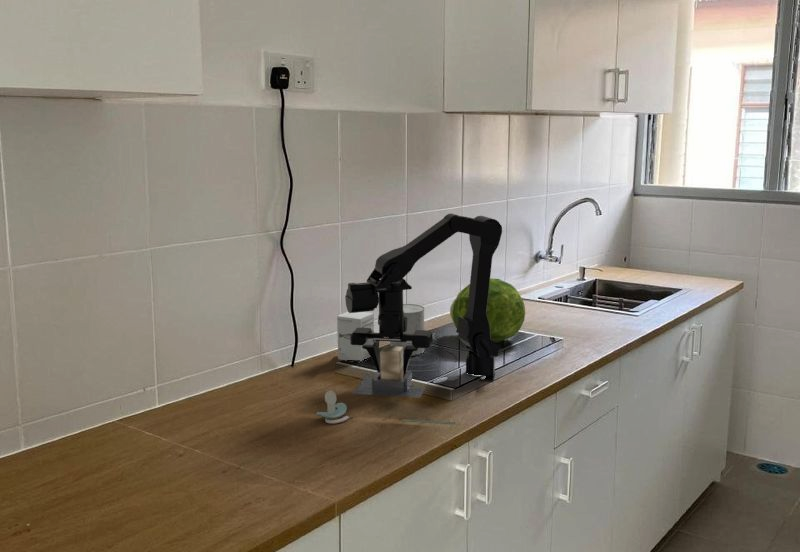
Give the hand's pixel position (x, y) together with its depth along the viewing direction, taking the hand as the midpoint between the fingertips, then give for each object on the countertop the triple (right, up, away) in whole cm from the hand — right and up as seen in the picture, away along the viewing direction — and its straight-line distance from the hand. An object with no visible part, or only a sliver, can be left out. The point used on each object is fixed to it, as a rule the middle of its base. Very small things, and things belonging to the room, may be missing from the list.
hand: (392, 372), depth 192 cm
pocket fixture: (0, -4, +1) cm, 4 cm away
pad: (+9, -7, -15) cm, 19 cm away
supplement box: (-10, 0, +23) cm, 25 cm away
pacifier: (-12, -8, -17) cm, 22 cm away
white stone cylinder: (+4, +2, +29) cm, 29 cm away
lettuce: (+25, +4, +38) cm, 46 cm away
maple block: (0, -3, +1) cm, 3 cm away
